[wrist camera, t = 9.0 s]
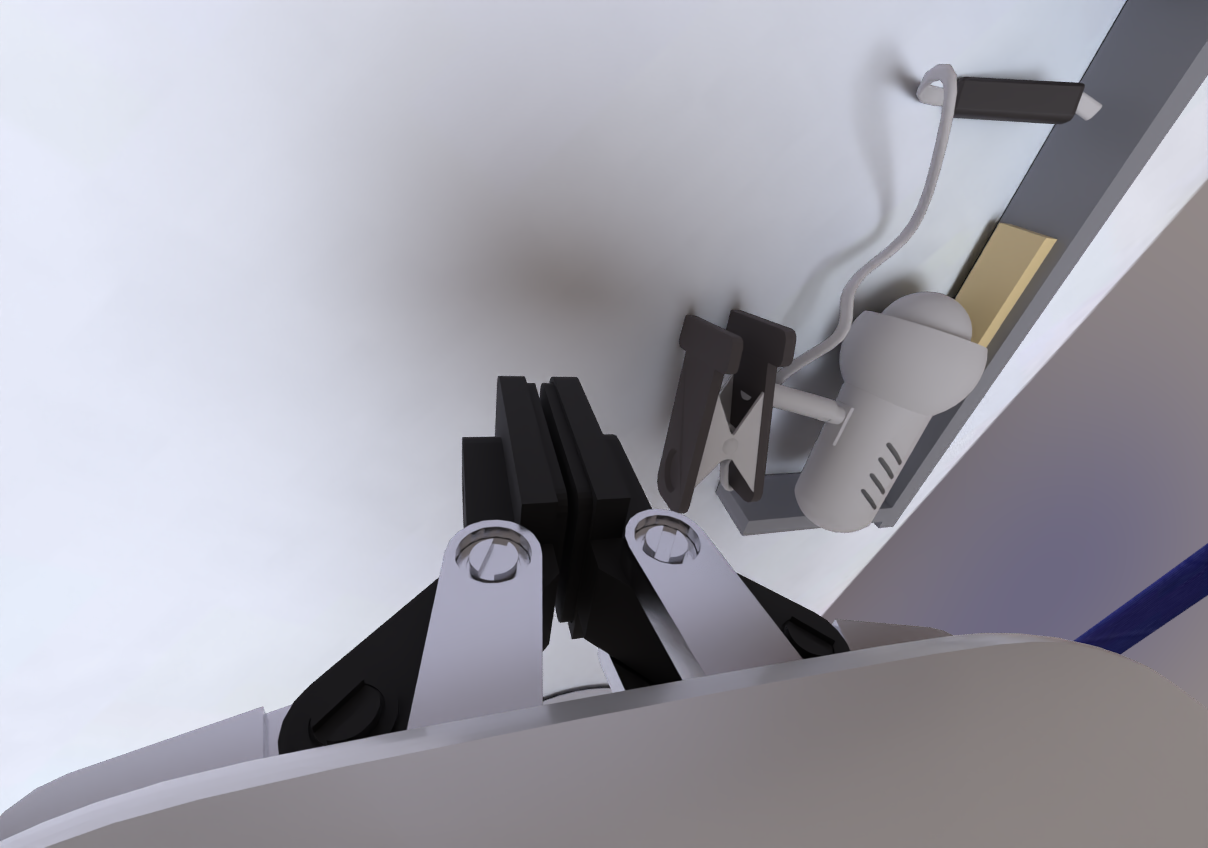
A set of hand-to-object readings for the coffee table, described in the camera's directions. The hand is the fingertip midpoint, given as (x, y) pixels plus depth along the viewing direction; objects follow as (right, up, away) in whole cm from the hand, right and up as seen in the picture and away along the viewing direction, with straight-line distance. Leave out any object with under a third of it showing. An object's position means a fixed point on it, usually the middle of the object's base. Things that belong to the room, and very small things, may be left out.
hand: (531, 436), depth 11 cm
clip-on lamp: (+11, +6, +10) cm, 16 cm away
